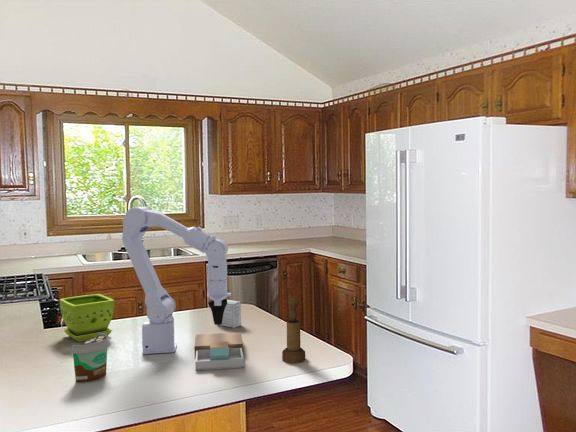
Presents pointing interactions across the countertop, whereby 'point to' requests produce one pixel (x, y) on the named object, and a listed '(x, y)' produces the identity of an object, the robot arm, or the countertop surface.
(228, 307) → the medicine box
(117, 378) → the countertop surface
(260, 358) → the countertop surface
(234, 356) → the tray
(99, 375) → the food container
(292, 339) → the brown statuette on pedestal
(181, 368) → the countertop surface
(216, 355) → the teal tile
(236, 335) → the walnut board
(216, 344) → the terracotta tile
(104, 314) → the flower pot
